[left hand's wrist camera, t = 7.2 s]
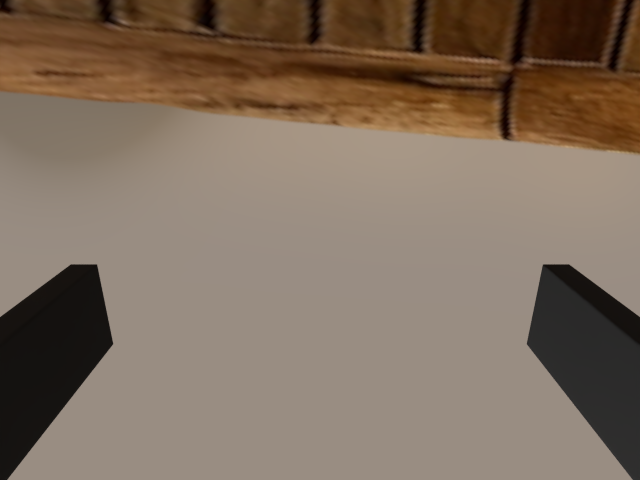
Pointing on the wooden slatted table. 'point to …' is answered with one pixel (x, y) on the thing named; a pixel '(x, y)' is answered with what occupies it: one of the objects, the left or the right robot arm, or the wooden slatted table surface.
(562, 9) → the wooden slatted table surface
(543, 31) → the wooden slatted table surface
